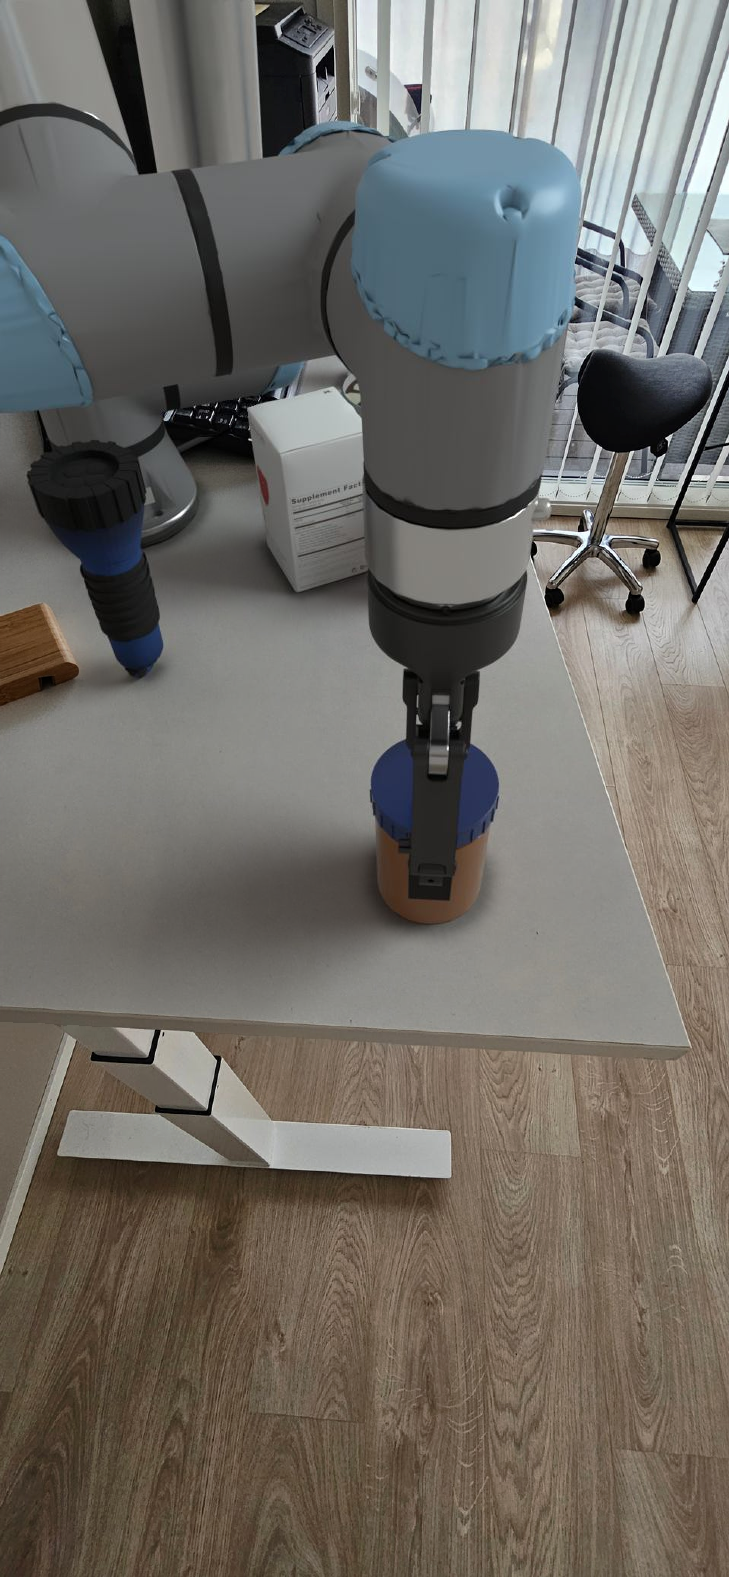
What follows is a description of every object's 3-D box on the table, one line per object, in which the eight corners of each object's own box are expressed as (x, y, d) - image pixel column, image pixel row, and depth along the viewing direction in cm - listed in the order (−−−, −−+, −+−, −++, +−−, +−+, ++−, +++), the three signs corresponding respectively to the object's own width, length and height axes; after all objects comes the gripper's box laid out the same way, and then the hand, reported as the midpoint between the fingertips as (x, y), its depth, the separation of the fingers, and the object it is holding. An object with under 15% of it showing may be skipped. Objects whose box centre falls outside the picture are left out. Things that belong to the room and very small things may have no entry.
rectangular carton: (264, 545, 85) (243, 404, 73) (343, 523, 87) (335, 382, 75) (294, 595, 80) (276, 452, 68) (377, 570, 82) (374, 427, 70)
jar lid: (510, 769, 53) (513, 750, 52) (478, 867, 49) (480, 850, 47) (394, 740, 55) (394, 721, 54) (352, 831, 51) (351, 814, 49)
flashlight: (197, 638, 77) (145, 436, 61) (187, 699, 72) (129, 495, 56) (112, 641, 77) (39, 440, 61) (97, 702, 72) (13, 500, 56)
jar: (380, 833, 62) (377, 742, 54) (480, 837, 62) (493, 746, 53) (374, 921, 58) (370, 836, 49) (481, 926, 57) (496, 842, 49)
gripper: (540, 732, 31) (488, 985, 49) (521, 445, 44) (485, 729, 62) (345, 724, 32) (364, 977, 50) (382, 443, 44) (386, 725, 62)
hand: (431, 839), depth 56 cm, fingers closed on jar lid, 8 cm apart
